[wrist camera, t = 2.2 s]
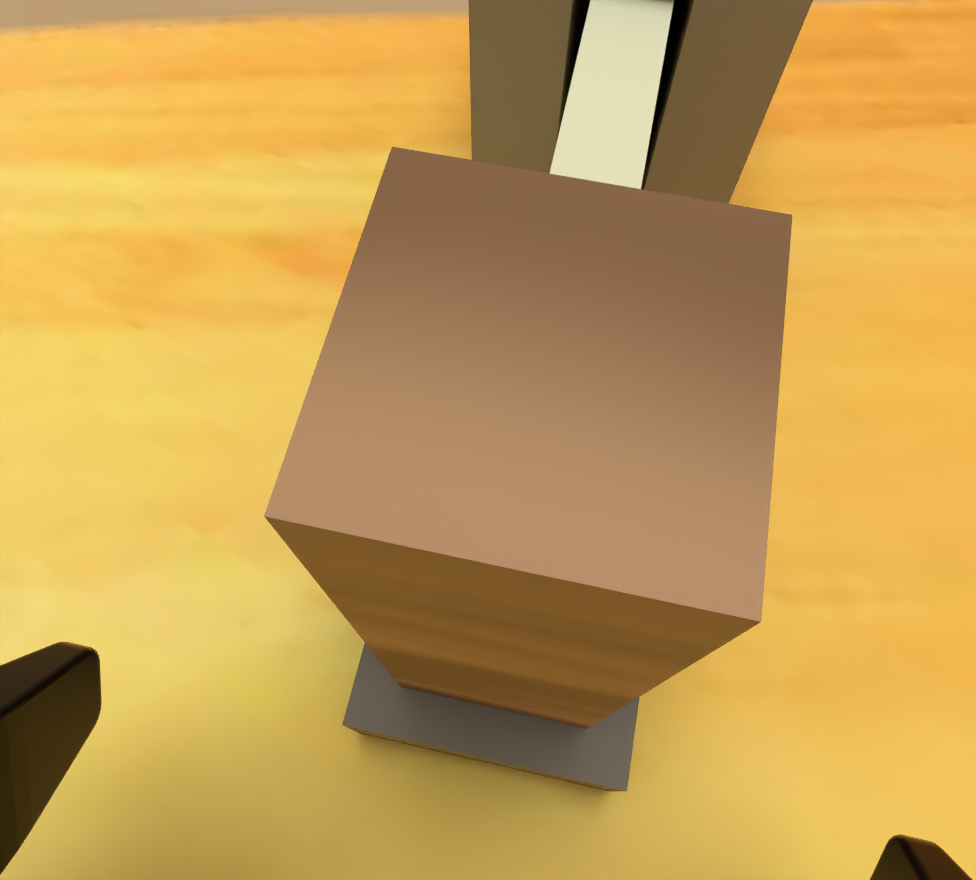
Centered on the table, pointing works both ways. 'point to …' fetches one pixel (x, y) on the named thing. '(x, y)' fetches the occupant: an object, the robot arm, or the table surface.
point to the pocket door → (613, 92)
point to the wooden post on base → (539, 455)
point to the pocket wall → (681, 95)
